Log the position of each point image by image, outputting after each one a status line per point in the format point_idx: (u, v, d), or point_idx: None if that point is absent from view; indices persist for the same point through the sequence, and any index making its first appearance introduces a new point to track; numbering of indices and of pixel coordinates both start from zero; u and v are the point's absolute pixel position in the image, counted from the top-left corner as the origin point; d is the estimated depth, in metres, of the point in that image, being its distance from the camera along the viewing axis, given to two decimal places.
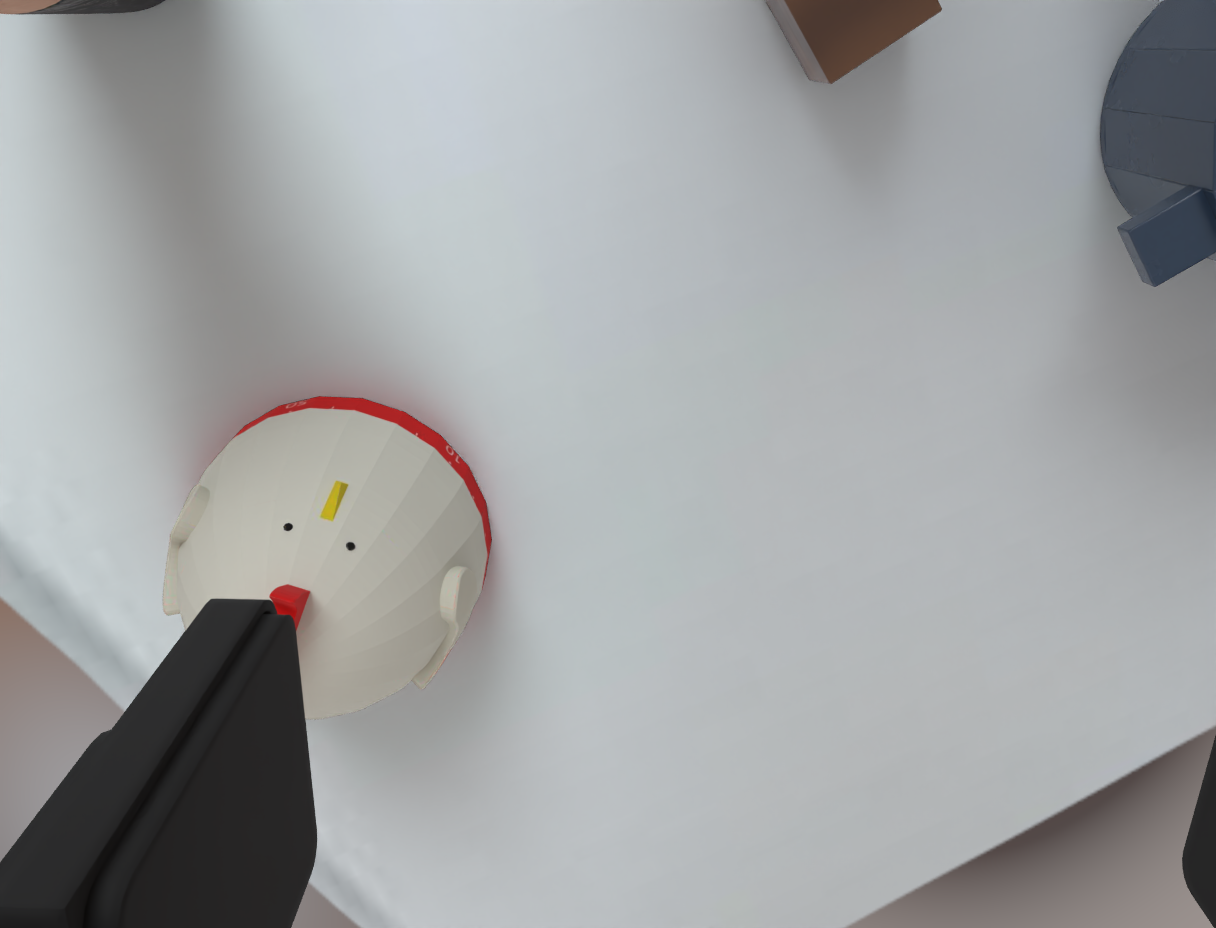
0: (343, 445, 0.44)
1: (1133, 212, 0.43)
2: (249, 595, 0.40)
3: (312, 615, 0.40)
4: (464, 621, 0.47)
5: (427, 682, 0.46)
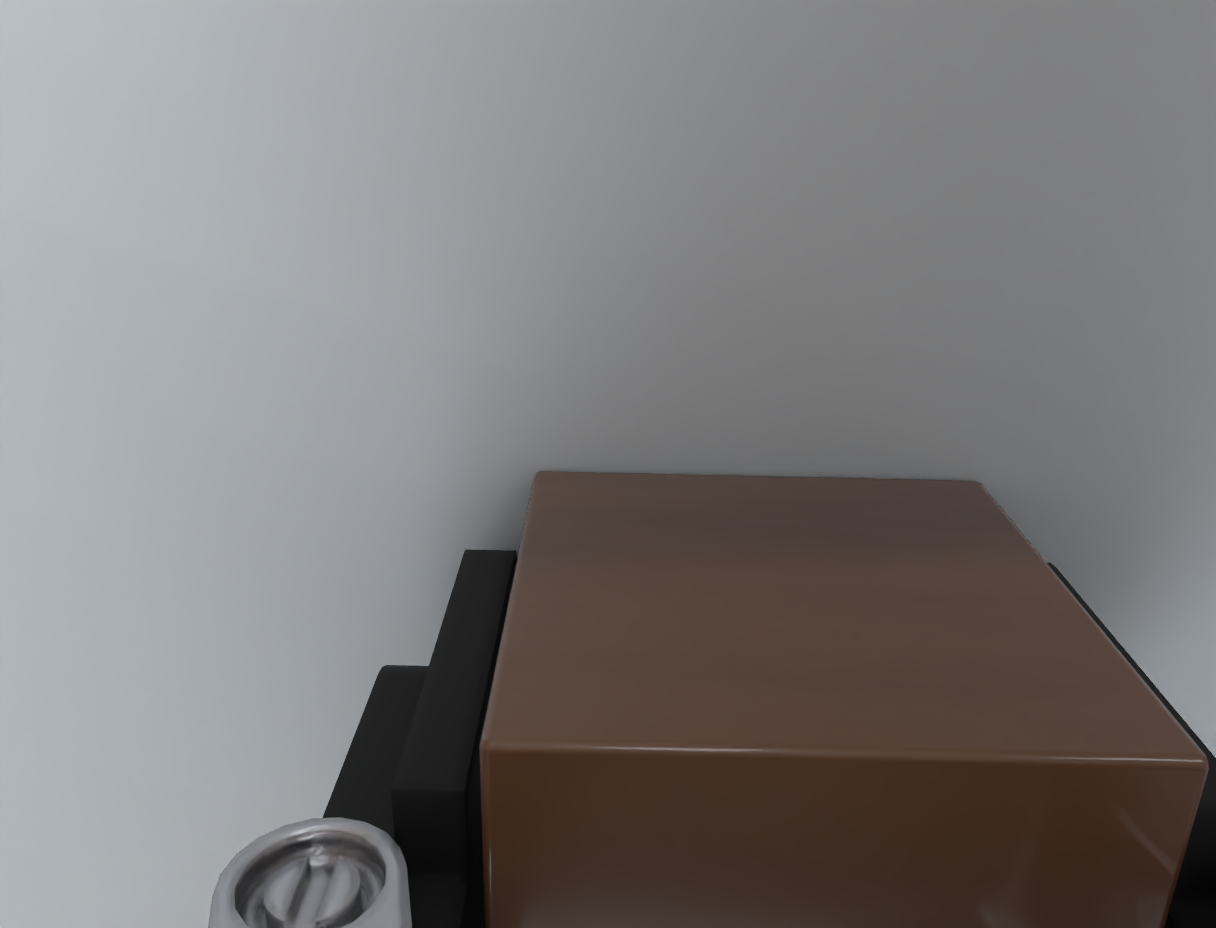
0: None
1: None
2: None
3: None
4: None
5: None
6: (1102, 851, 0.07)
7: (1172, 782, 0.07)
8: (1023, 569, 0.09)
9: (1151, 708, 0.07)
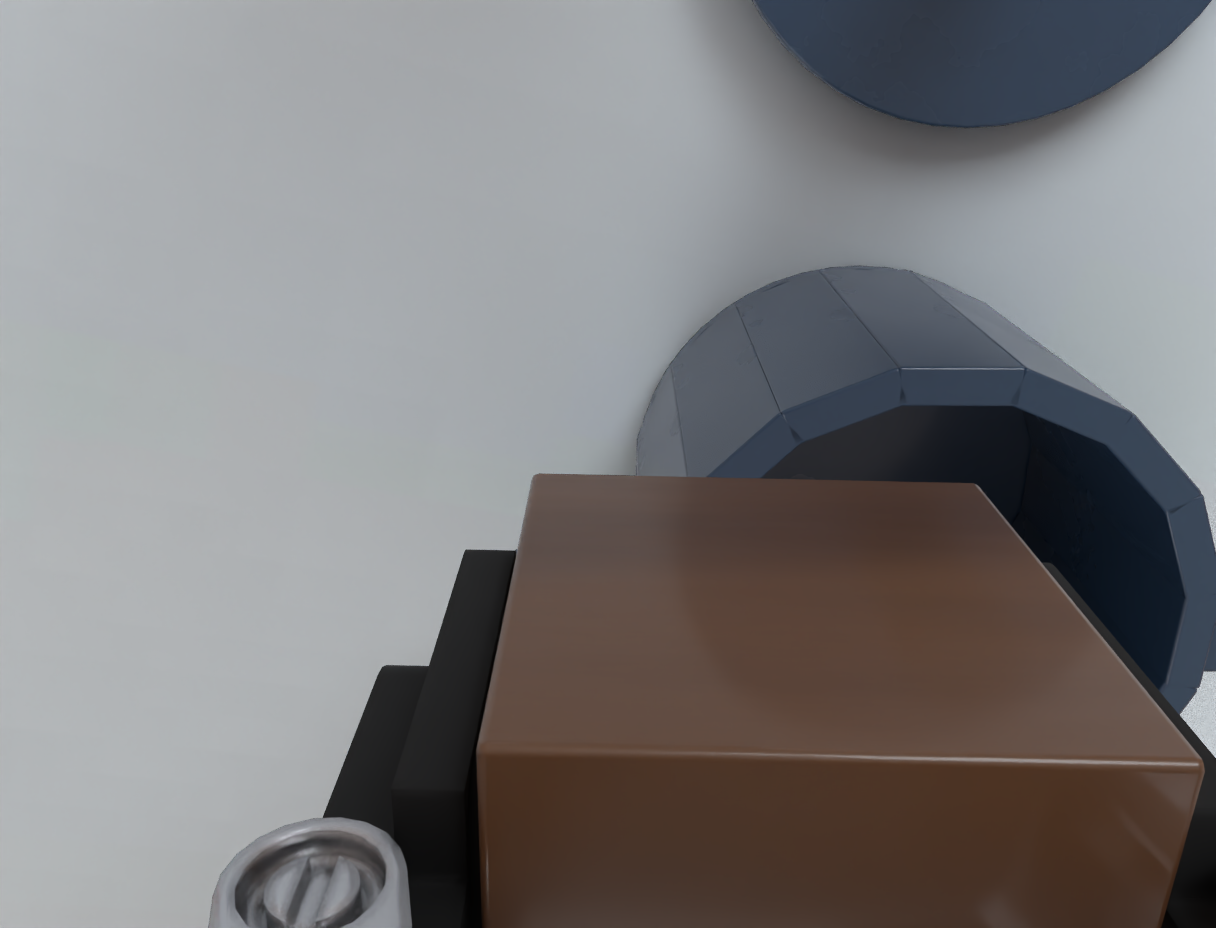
0: None
1: None
2: None
3: None
4: None
5: None
6: (1098, 854, 0.07)
7: (1168, 785, 0.07)
8: (1020, 572, 0.09)
9: (1147, 711, 0.07)
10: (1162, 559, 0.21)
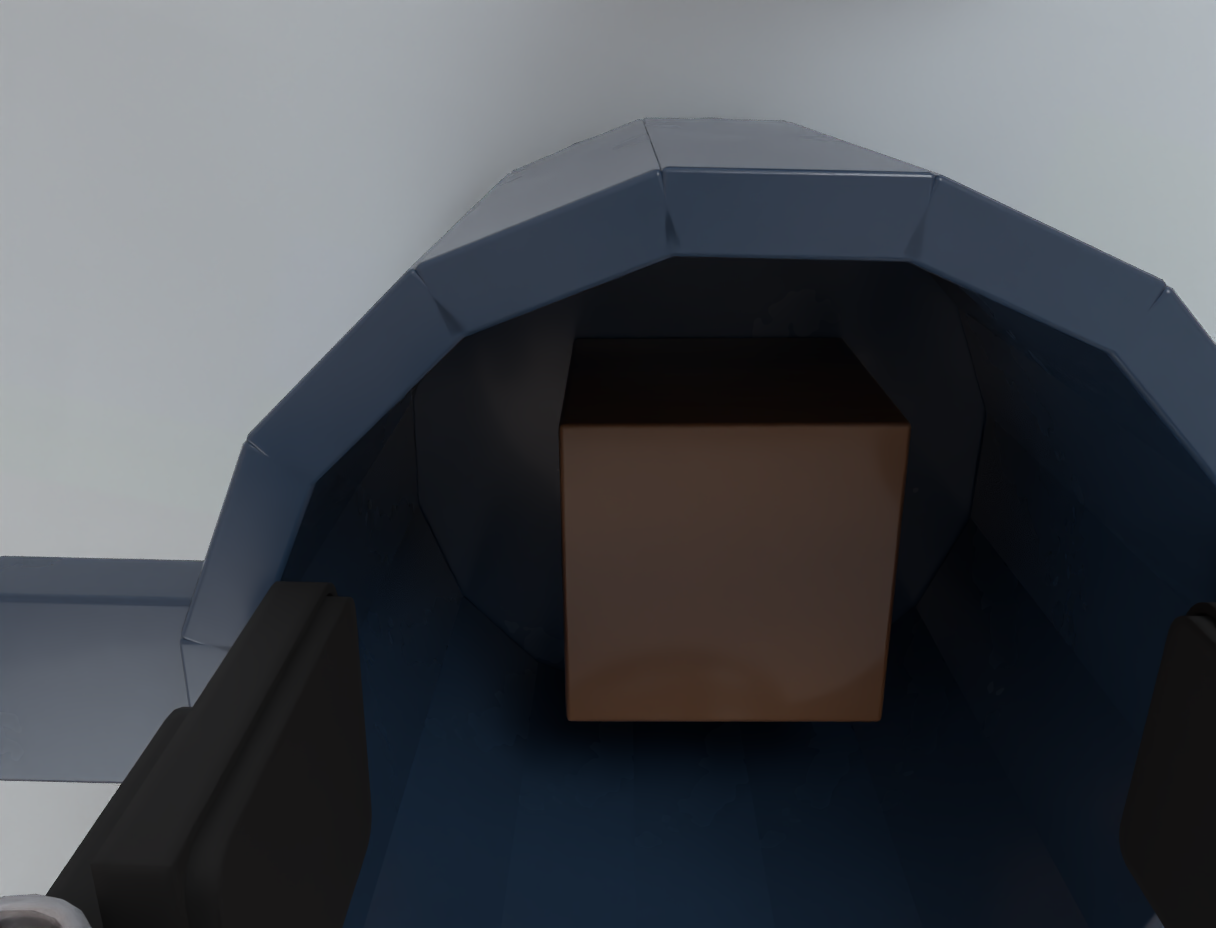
0: None
1: None
2: None
3: None
4: None
5: None
6: (864, 475, 0.14)
7: (893, 436, 0.14)
8: (850, 369, 0.16)
9: (891, 410, 0.14)
10: None
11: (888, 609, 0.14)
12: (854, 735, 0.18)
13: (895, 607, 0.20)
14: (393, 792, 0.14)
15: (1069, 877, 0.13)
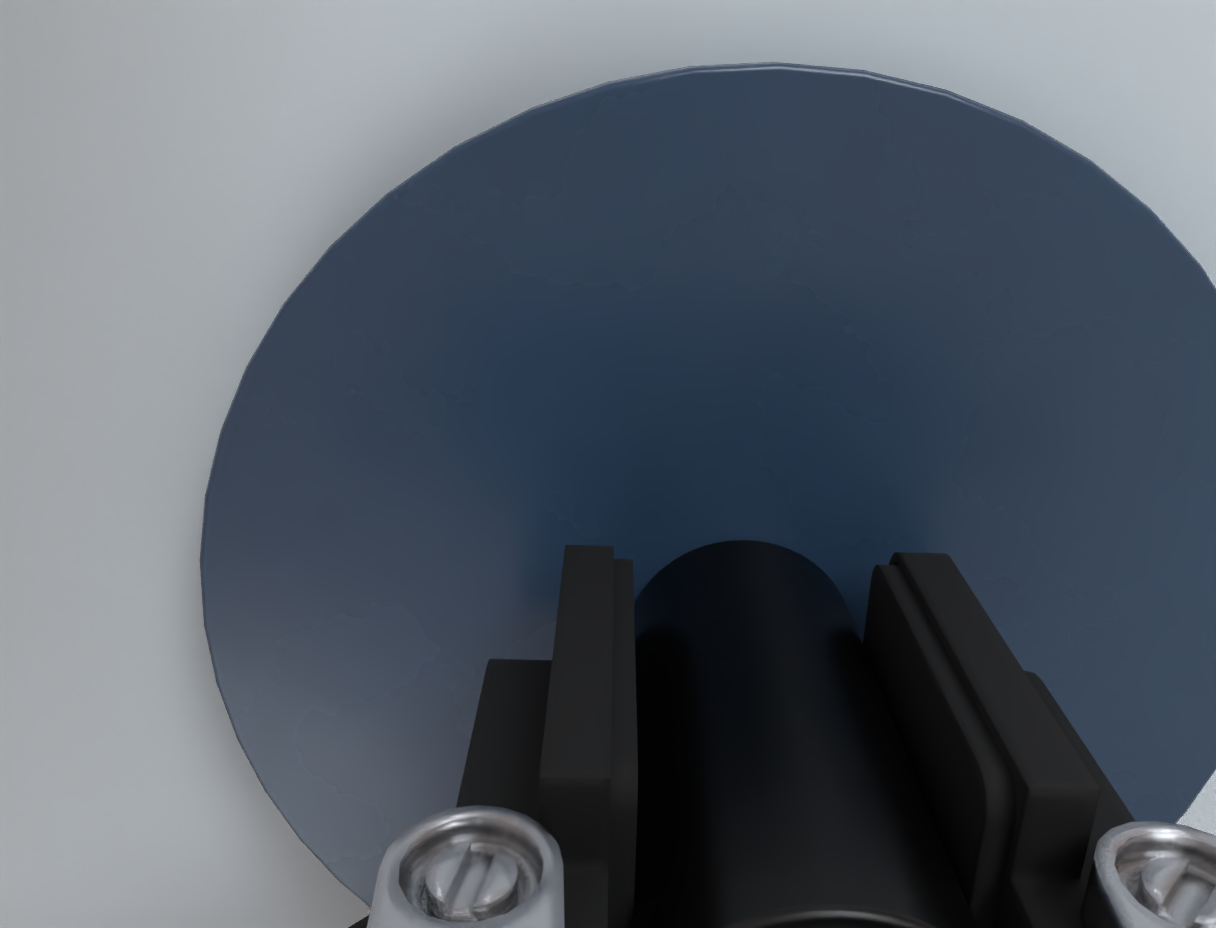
0: None
1: None
2: None
3: None
4: None
5: None
6: None
7: None
8: None
9: None
10: None
11: None
12: None
13: None
14: None
15: None
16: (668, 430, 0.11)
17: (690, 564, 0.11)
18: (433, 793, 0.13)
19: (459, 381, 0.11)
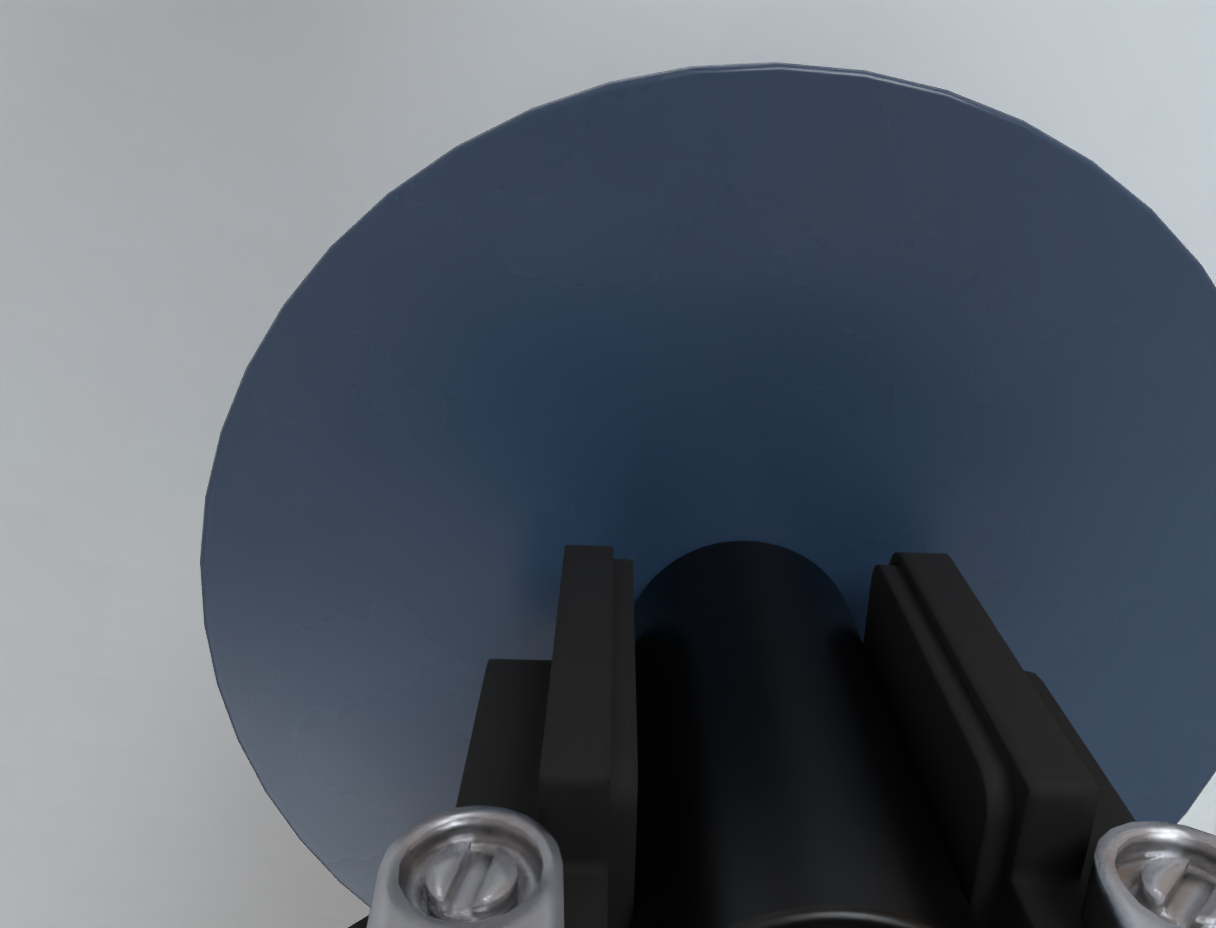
0: None
1: None
2: None
3: None
4: None
5: None
6: None
7: None
8: None
9: None
10: None
11: None
12: None
13: None
14: None
15: None
16: (669, 430, 0.11)
17: (691, 564, 0.11)
18: (434, 795, 0.13)
19: (461, 381, 0.11)
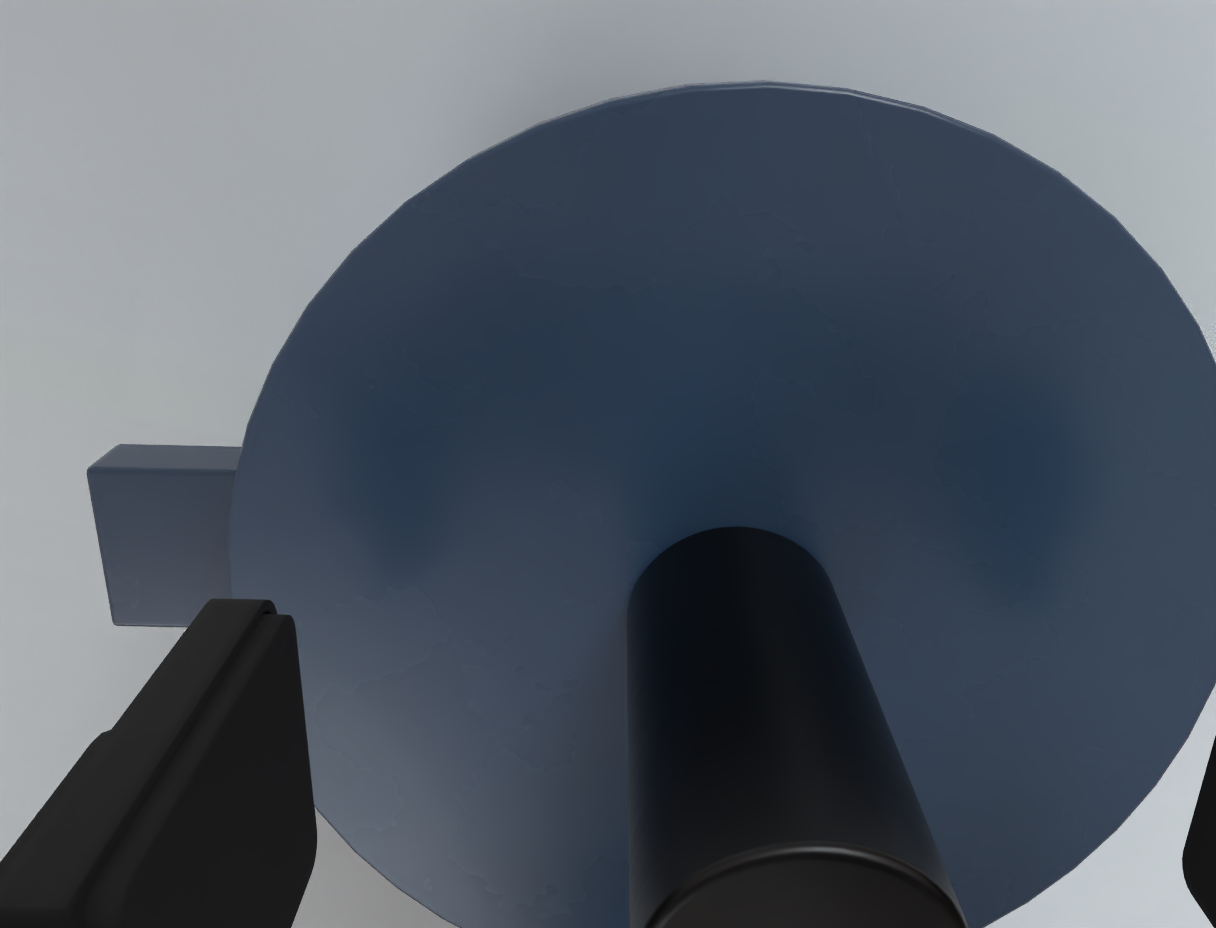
0: None
1: None
2: None
3: None
4: None
5: None
6: None
7: None
8: None
9: None
10: None
11: None
12: None
13: None
14: None
15: None
16: (666, 423, 0.12)
17: (687, 548, 0.12)
18: (444, 767, 0.14)
19: (472, 378, 0.12)
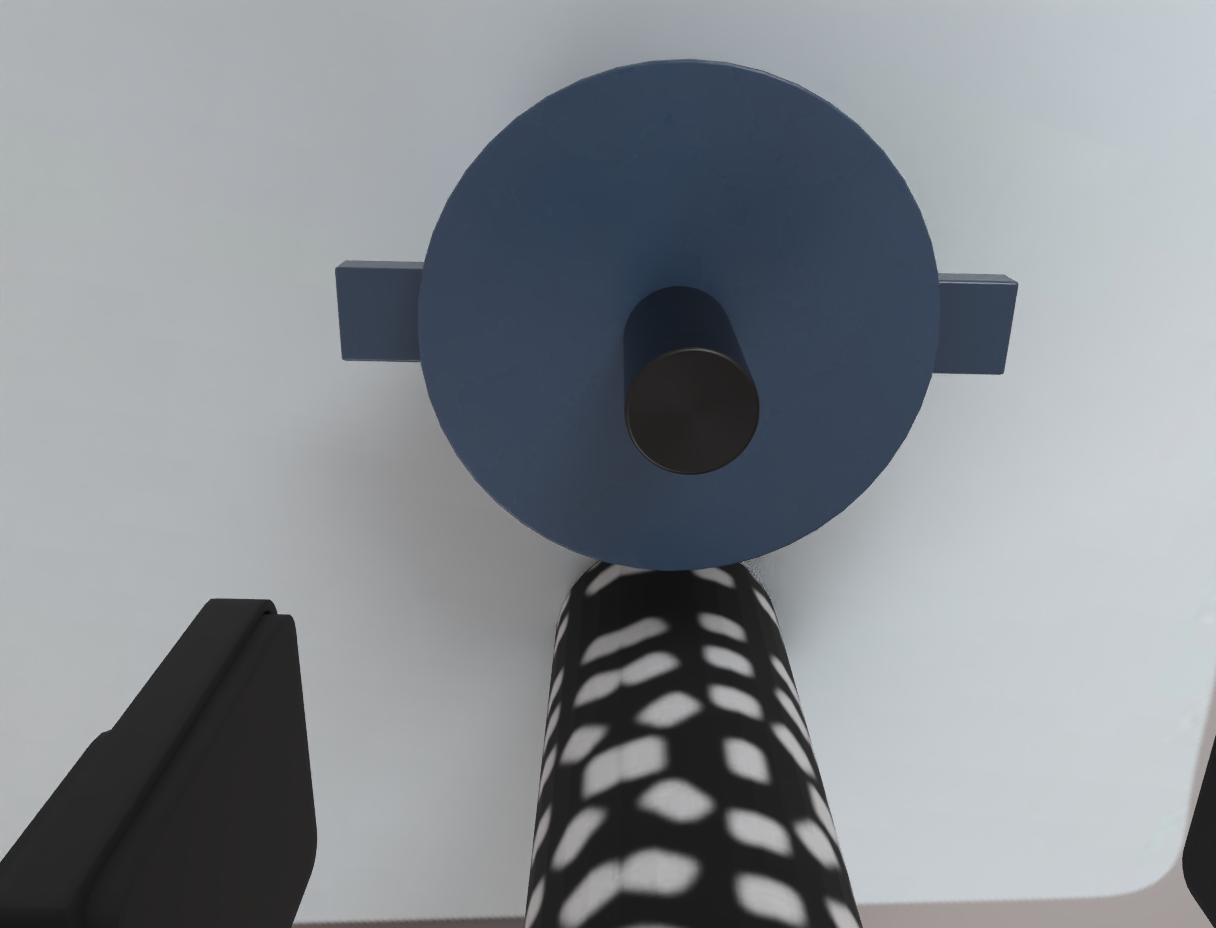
0: None
1: None
2: None
3: None
4: None
5: None
6: None
7: None
8: None
9: None
10: None
11: None
12: None
13: None
14: None
15: None
16: (643, 230, 0.24)
17: (653, 295, 0.24)
18: (526, 428, 0.26)
19: (546, 207, 0.24)
